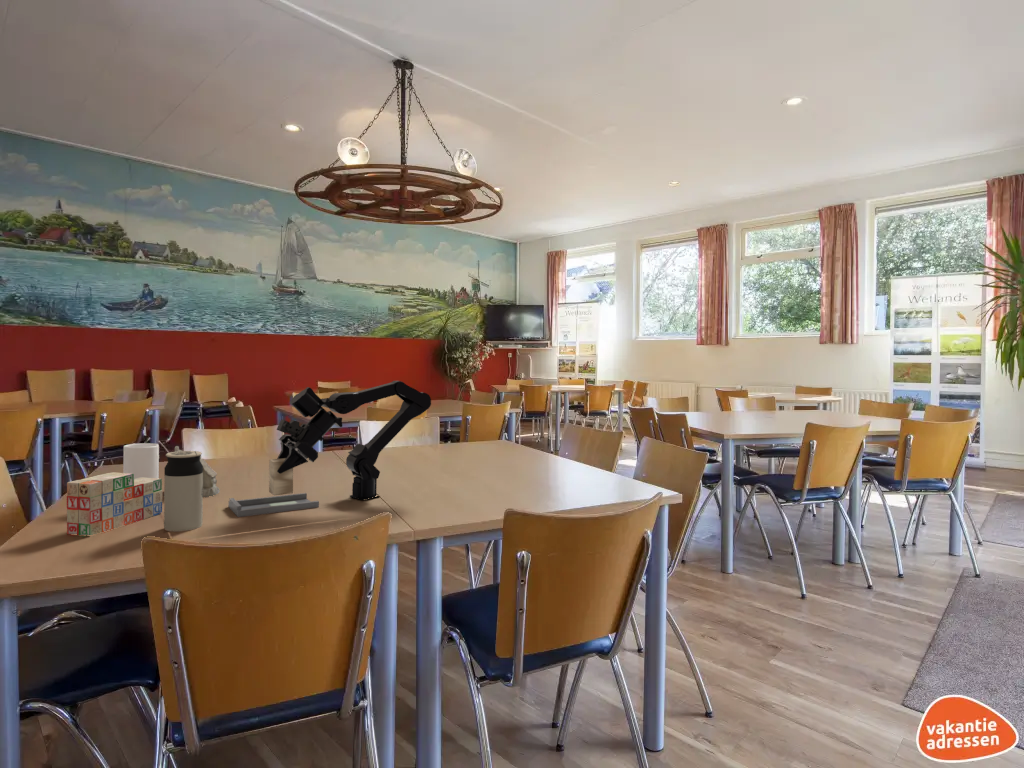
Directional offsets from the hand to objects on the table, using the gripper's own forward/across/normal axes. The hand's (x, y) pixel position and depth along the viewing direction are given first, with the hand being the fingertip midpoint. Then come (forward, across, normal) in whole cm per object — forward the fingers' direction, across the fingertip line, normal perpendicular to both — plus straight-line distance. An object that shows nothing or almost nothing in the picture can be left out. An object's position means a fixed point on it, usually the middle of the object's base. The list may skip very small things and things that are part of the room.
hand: (275, 470), depth 160 cm
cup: (+28, -24, -14) cm, 40 cm away
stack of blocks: (+32, -4, -18) cm, 37 cm away
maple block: (+3, 0, +5) cm, 6 cm away
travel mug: (+24, +8, -9) cm, 27 cm away
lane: (+8, 0, +7) cm, 10 cm away
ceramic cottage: (+18, -31, -4) cm, 36 cm away
